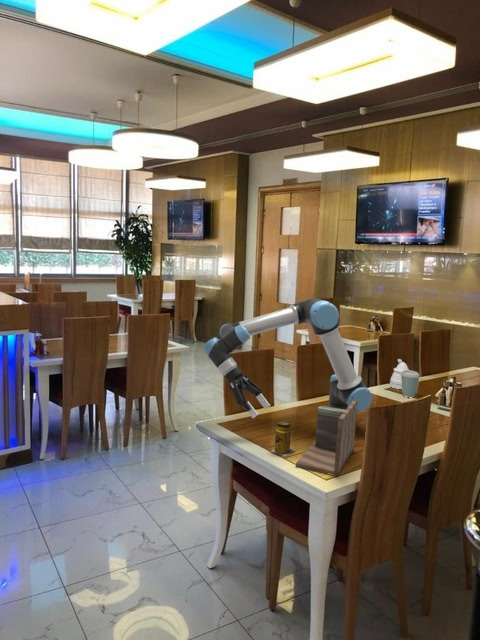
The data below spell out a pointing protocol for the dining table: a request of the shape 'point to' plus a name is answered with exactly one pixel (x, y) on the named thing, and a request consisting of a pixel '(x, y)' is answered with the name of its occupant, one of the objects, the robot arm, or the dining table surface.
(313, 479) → the dining table surface
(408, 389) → the disposable coffee cup
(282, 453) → the condiment
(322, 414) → the wooden l-shaped bookend
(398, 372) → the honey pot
